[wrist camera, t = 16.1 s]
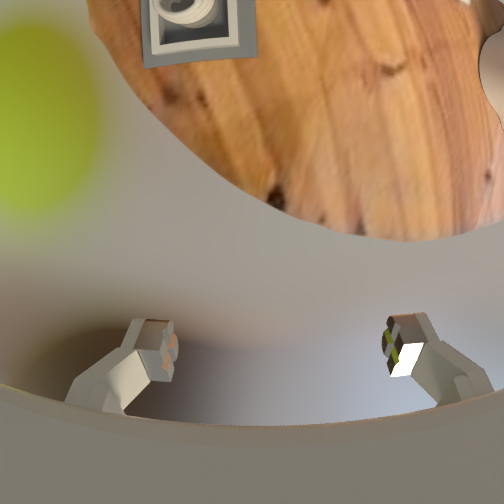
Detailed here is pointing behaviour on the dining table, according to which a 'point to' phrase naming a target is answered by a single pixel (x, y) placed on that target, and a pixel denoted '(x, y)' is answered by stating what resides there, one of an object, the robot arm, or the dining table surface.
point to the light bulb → (187, 11)
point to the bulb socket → (199, 36)
